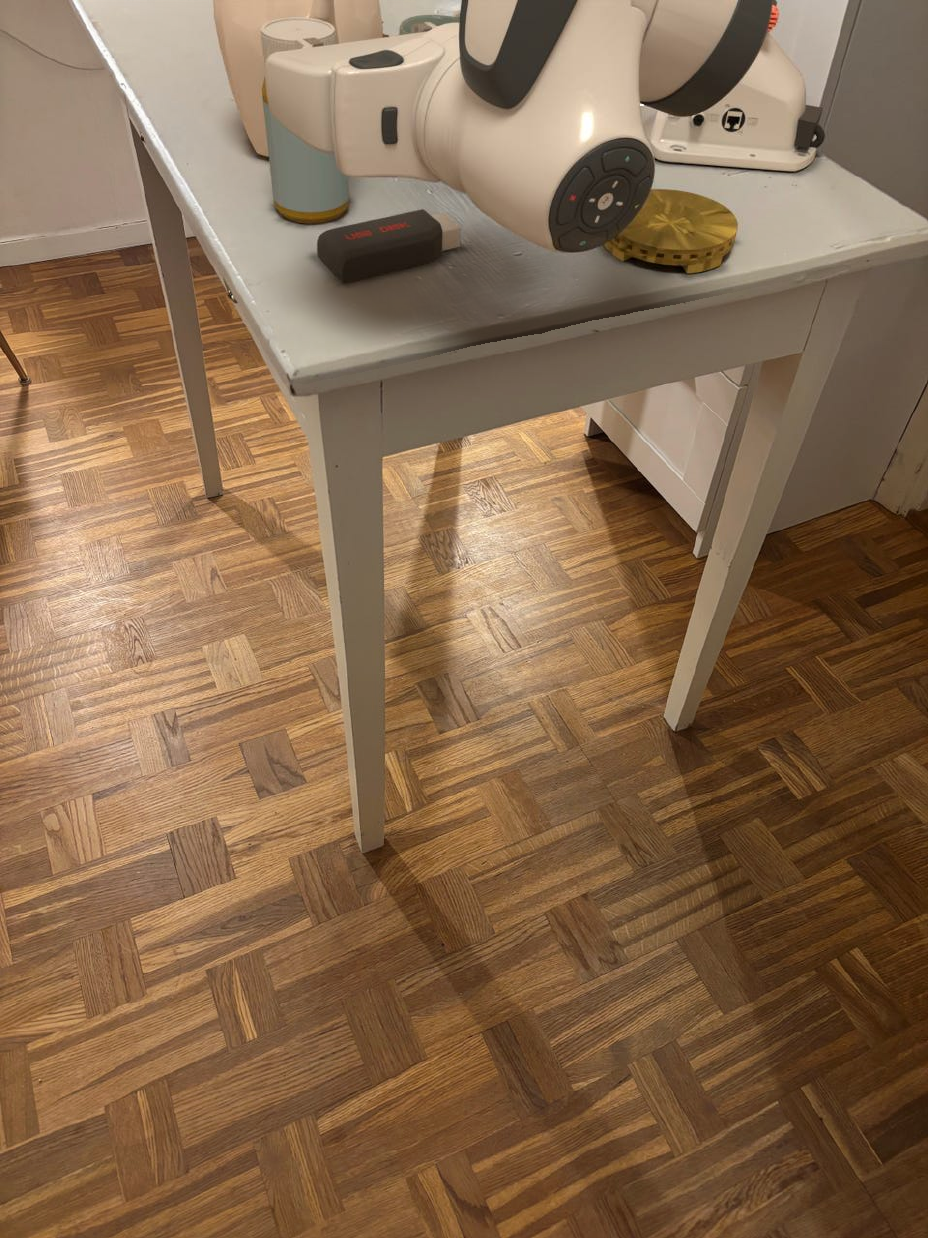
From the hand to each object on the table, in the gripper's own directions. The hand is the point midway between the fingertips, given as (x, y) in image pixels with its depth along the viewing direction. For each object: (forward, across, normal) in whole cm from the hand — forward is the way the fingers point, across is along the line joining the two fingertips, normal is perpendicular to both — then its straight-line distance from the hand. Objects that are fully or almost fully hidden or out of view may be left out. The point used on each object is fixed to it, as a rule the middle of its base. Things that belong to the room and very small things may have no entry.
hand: (362, 42), depth 70 cm
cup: (+24, -20, +17) cm, 36 cm away
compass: (-9, -26, +17) cm, 33 cm away
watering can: (+24, -6, +17) cm, 31 cm away
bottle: (+12, 0, +17) cm, 21 cm away
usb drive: (0, -2, +17) cm, 18 cm away
